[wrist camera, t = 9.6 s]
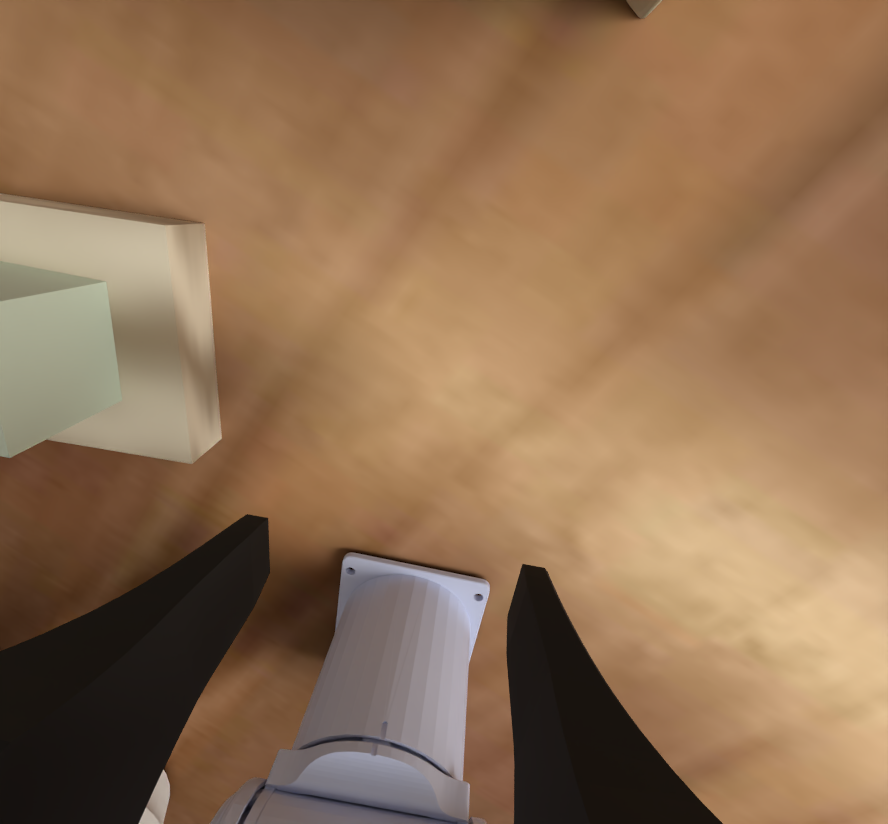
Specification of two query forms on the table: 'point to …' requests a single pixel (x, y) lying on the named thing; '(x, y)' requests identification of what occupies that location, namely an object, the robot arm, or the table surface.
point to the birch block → (134, 318)
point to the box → (643, 6)
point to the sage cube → (52, 354)
